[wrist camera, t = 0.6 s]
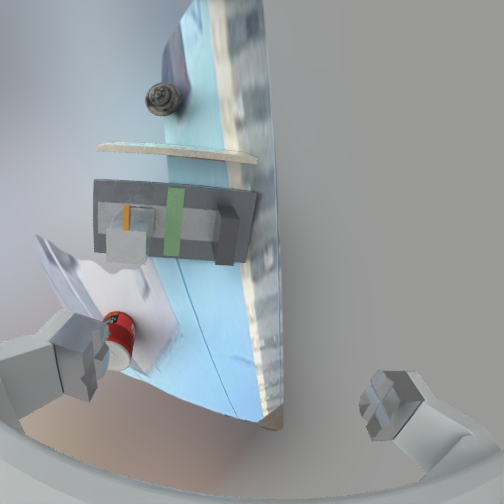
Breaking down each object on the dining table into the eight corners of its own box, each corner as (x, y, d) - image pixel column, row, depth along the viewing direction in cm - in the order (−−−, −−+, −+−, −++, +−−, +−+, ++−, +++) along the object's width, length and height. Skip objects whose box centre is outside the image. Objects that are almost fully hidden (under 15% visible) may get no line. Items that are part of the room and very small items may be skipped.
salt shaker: (188, 102, 46) (187, 95, 35) (161, 123, 46) (152, 122, 36) (168, 78, 43) (162, 65, 32) (141, 99, 44) (128, 92, 33)
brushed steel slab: (122, 233, 51) (106, 261, 40) (123, 187, 48) (106, 205, 37) (153, 235, 52) (145, 264, 41) (156, 189, 49) (147, 207, 38)
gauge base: (95, 249, 53) (80, 273, 44) (98, 141, 45) (79, 144, 36) (244, 260, 60) (254, 284, 51) (261, 154, 52) (277, 161, 43)
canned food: (114, 304, 58) (104, 336, 48) (143, 325, 62) (138, 358, 52) (97, 323, 59) (86, 356, 49) (124, 343, 63) (118, 376, 53)
